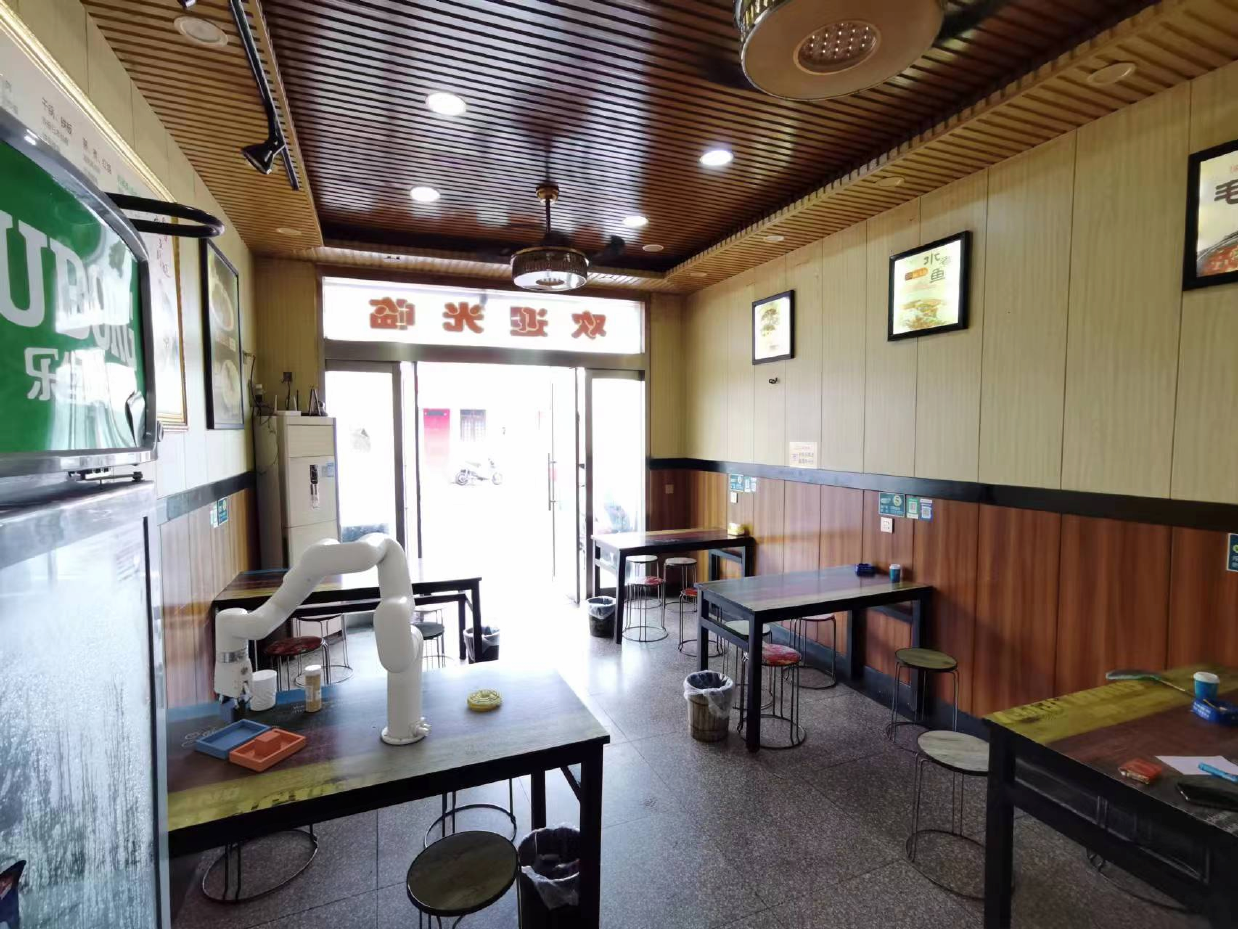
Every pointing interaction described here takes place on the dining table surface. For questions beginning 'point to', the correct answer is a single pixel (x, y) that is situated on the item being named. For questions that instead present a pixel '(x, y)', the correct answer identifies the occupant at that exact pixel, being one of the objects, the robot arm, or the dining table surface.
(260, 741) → the terracotta block
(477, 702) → the decorated donut
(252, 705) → the white cup
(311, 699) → the sprinkles bottle
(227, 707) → the slate-blue block
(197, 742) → the slate-blue tray
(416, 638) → the robot arm
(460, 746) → the dining table surface
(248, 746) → the terracotta tray
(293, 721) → the dining table surface
